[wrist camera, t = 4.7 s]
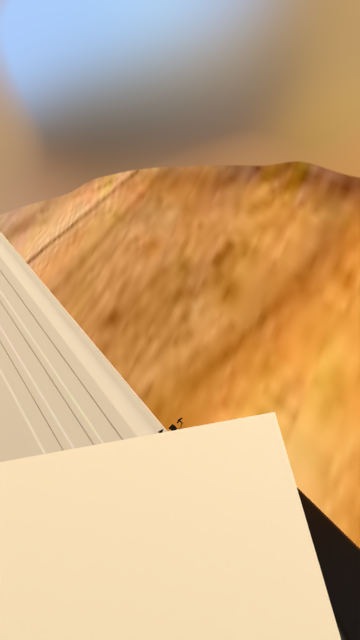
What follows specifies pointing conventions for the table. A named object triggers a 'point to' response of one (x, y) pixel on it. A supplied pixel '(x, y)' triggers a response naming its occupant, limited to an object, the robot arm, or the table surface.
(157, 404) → the table surface
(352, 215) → the table surface
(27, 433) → the baseboard molding
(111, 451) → the cream rectangular block
